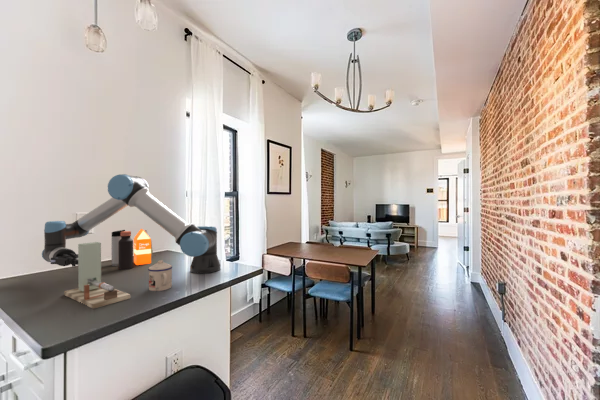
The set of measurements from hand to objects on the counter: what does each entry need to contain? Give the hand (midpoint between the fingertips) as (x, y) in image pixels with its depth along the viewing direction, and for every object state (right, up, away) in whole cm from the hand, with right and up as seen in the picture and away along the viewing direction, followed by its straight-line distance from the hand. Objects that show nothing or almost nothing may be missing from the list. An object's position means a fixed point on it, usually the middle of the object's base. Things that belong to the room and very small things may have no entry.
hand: (84, 262), depth 113 cm
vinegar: (-8, -12, +39) cm, 42 cm away
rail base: (+9, -12, -6) cm, 16 cm away
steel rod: (+9, -8, -6) cm, 13 cm away
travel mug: (-17, -12, +48) cm, 52 cm away
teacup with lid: (+30, -12, +3) cm, 32 cm away
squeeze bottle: (-11, -12, +65) cm, 67 cm away
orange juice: (-6, -12, +52) cm, 54 cm away
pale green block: (+4, -10, -2) cm, 11 cm away
